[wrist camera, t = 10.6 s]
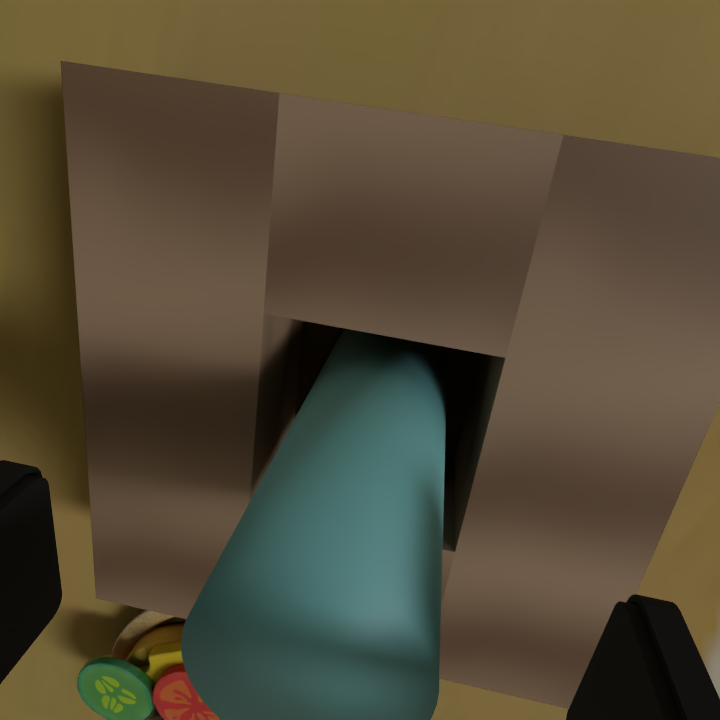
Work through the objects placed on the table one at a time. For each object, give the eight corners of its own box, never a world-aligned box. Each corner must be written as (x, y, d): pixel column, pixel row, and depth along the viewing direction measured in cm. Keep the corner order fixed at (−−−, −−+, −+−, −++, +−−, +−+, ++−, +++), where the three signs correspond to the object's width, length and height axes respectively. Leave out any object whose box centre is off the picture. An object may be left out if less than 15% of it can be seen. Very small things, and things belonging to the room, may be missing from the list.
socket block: (165, 78, 17) (60, 60, 13) (714, 159, 16) (820, 173, 11) (165, 506, 23) (96, 598, 19) (556, 591, 22) (583, 712, 17)
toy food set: (425, 763, 28) (422, 840, 25) (198, 789, 31) (171, 859, 28) (314, 549, 24) (293, 610, 21) (68, 607, 27) (21, 666, 24)
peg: (339, 302, 19) (182, 542, 8) (457, 323, 19) (464, 604, 8) (325, 407, 21) (180, 728, 10) (435, 428, 20) (413, 787, 9)
